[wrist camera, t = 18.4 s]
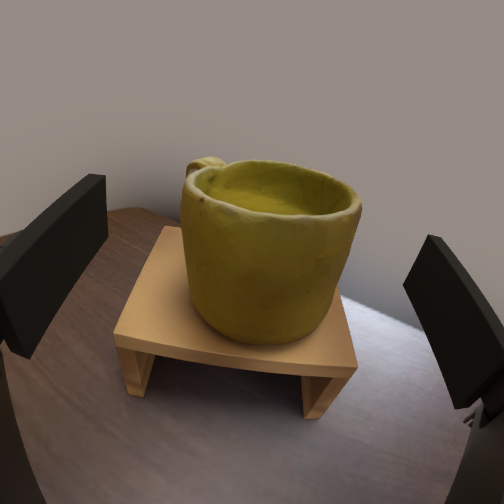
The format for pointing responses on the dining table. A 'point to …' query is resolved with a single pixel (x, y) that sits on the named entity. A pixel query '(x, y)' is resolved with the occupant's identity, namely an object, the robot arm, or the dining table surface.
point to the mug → (265, 246)
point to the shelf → (218, 345)
